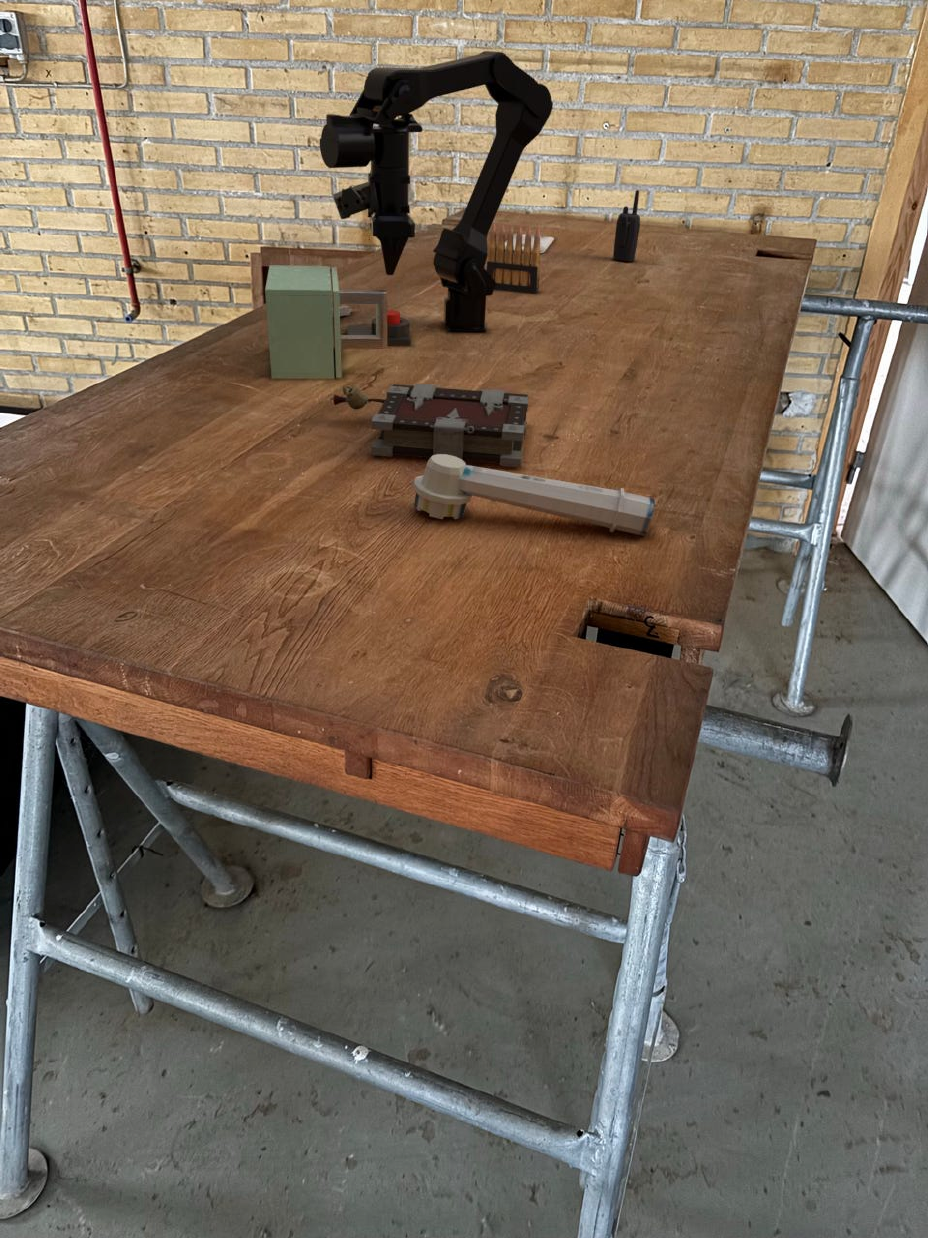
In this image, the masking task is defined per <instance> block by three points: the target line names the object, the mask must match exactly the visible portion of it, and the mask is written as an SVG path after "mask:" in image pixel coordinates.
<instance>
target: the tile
mask: <svg viewBox="0 0 928 1238" xmlns="http://www.w3.org/2000/svg"><path fill="white" fill-rule="evenodd" d="M513 235H514V237H513V246H514V249H515V244H516V236H517V233H513ZM525 237H526V233H525V234H523V233H522V253H523V250H524V244H525ZM534 238H535V234H531V254H532V250H533V245H534ZM554 240H555V237H553V236H547V235H540V254H542V253H545V252H546V250H548V248H549V247H550V245H551V244H552V243H553V242H554ZM506 245H507V239H506V240H505V251H506Z"/></svg>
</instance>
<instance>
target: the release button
mask: <svg viewBox="0 0 928 1238" xmlns="http://www.w3.org/2000/svg"><path fill="white" fill-rule="evenodd" d="M400 317H401V312H400V311H399V310H394V309H387V324H399V323H400Z"/></svg>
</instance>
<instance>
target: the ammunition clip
mask: <svg viewBox="0 0 928 1238" xmlns="http://www.w3.org/2000/svg"><path fill="white" fill-rule="evenodd" d="M496 228H497V227H496V224H495V223H492V225H491V227H490V233H489V243H488V246H487V250H488V256H487V260H486V268H485V270H486V271H487V272H488V273H489V274H490V276H491V277H492V278H493V279H494V281H495V282H496V285H495V288H494V290H498V291H508V292H517V293H523V294H524V293H526V294H534V295H536V294H538V293H539V292H540V291H539V290H540V289H539V288H540V287H539V285H540V264H541V263H540V262H541V253H540V236H541V230H540V228H539V227H536V231H535V233H534V235H535V238H534V245H533V250H532V253H531V235H532V230H531V227H530V226H528V227H527V229H526V233H525V235H526V237H525V244H524V250H523V252H522V234H523V229H522V226H520V225H519V227H518V229H517V232H516V234H517V236H516V244H515V249H514V246H513V237H514V235H513V234H514V226H513V225H511V224H510V226H509V228H508V233H507V239H506V231H505V226H504V224H503V223H502V224H501V226H500V228H499V232H498V240H497V229H496ZM505 239H506V240H507V245H506V250H505V241H506V240H505Z"/></svg>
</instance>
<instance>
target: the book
mask: <svg viewBox="0 0 928 1238" xmlns="http://www.w3.org/2000/svg"><path fill="white" fill-rule="evenodd" d="M342 393H343V395H345V397H344V396H341V395H337V394H334V395H333V405H334V406H337V405H339V404H342V403H347V405H348V406H349V407H350V408H351V409H352V410H355V411H358V410H360V409H363V408H364V407H365V406H366V405H367V404H368V403H371V402H375V403H380V404H382V405H381V406H380V409H379V411H378V412H377V413H374V415H373V416H372V418H371V421H370V429H371V430H378V431H381V432H380V434H379V436H378V438H376V439H374V441H373V443H372V445H371V456H377V457H379V456H380V457H389V458H391V457H394V456H405V457H417V458H419V457H420V458H428V459H430V458H431V457H432V456H433V455H436V454H447V455H451V456H455V457H457V458H460V459H462V460H463V461H464V462H465V461H466V462H477V463H490V464H499V466H500V467H511V468H521V466H522V460H523V451H522V448H523V442H524V437H526V433H527V425H528V421H526V420H527V412H528V409H529V400H530V396H529V394H525V393H524V394H523V393H510V392H507V391H505V390H503V389H493V388H492V389H490V388H489V389H488V388H482V389H479V390H474V389H461V388H449V387H448V388H447V387H441V386H437V384H429V383H428V384H427V383H414V384H412V385H410V384H407V385H405V384H397V383H394V384H393V385H390V386H389V387H388V389H387V391H386V397H385V399H384V398H383V399H382V398H371V397H370V398H368V396H367V395H366V393H365V391H364V390H363V389H362V388H360V387H358V386H347V385H342Z"/></svg>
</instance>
